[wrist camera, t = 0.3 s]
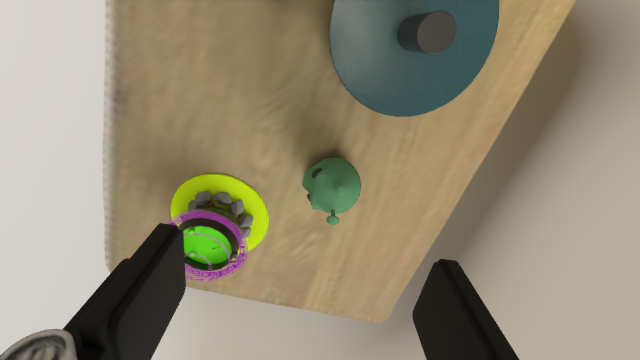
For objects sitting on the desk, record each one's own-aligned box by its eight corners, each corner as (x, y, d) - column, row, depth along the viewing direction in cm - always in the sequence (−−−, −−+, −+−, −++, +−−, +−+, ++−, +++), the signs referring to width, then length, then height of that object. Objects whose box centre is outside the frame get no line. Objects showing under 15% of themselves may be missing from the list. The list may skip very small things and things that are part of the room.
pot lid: (439, -120, 24) (485, -178, 17) (519, 44, 29) (577, 46, 23) (295, 22, 28) (289, 18, 22) (388, 142, 34) (405, 167, 27)
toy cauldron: (164, 239, 48) (124, 292, 38) (180, 159, 42) (138, 197, 32) (253, 264, 50) (238, 321, 40) (281, 193, 44) (271, 238, 34)
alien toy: (308, 143, 41) (306, 174, 32) (361, 153, 42) (374, 185, 33) (299, 187, 44) (296, 226, 35) (350, 196, 45) (358, 236, 36)
